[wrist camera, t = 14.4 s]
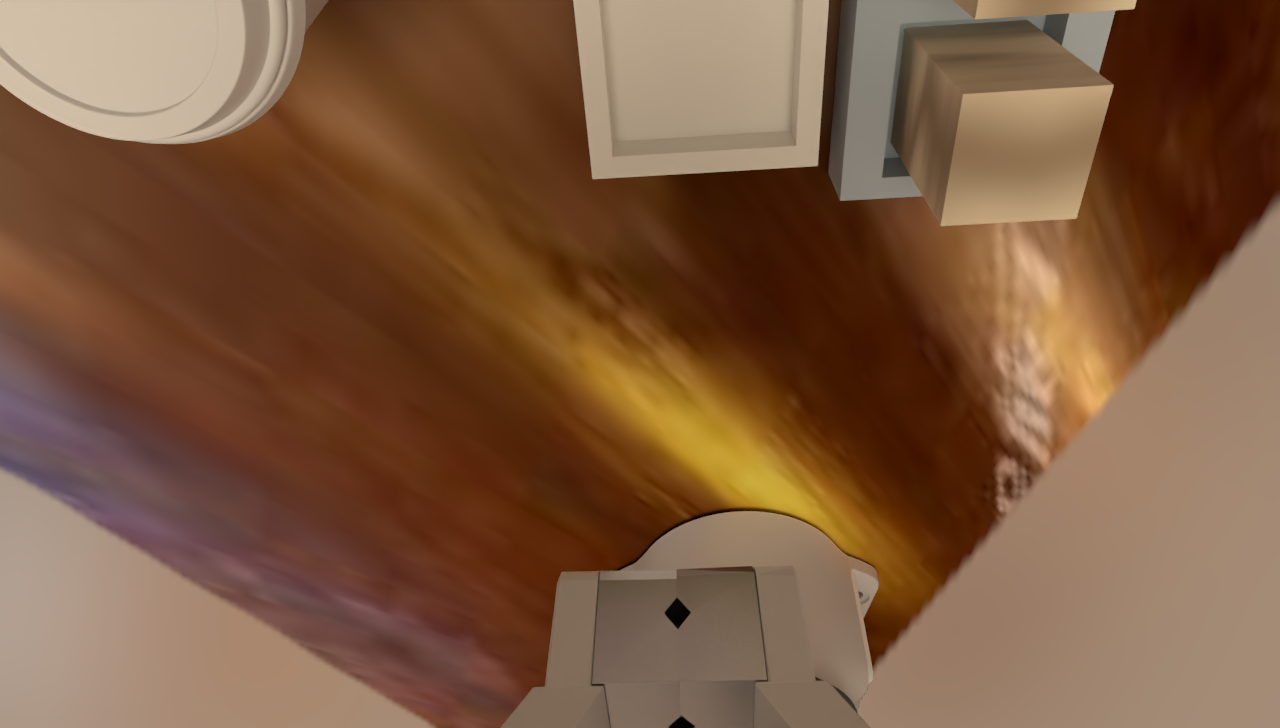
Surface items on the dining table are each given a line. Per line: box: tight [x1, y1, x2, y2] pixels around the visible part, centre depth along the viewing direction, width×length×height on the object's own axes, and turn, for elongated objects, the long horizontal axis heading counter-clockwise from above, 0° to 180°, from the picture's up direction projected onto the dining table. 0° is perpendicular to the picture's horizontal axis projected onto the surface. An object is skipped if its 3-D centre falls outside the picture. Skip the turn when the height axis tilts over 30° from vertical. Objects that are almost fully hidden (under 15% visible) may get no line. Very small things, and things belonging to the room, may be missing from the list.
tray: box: [573, 0, 829, 179], centre depth 35 cm, size 11×10×2 cm
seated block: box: [891, 20, 1114, 226], centre depth 33 cm, size 5×5×8 cm
